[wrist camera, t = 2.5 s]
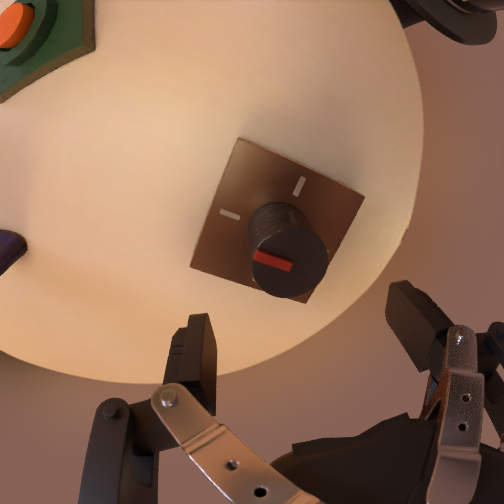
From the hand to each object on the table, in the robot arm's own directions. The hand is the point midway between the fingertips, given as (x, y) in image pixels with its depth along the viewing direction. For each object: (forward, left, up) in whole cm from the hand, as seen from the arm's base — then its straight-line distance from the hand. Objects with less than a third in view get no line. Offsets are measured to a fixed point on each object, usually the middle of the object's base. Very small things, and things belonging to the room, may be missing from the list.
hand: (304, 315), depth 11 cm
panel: (0, 0, -12) cm, 12 cm away
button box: (+18, -22, -12) cm, 31 cm away
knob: (0, 0, -9) cm, 9 cm away
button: (+18, -22, -8) cm, 29 cm away
